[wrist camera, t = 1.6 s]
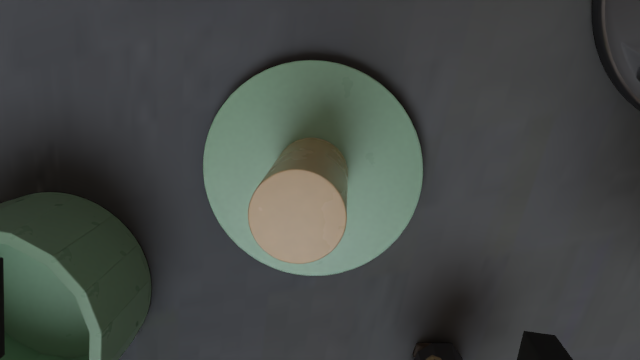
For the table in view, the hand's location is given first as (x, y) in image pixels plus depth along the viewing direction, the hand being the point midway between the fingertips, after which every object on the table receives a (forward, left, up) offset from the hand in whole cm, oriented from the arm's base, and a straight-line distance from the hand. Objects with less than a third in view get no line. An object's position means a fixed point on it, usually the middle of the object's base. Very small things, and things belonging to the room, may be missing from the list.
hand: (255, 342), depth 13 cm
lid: (0, 0, -20) cm, 20 cm away
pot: (+16, +10, -21) cm, 28 cm away
